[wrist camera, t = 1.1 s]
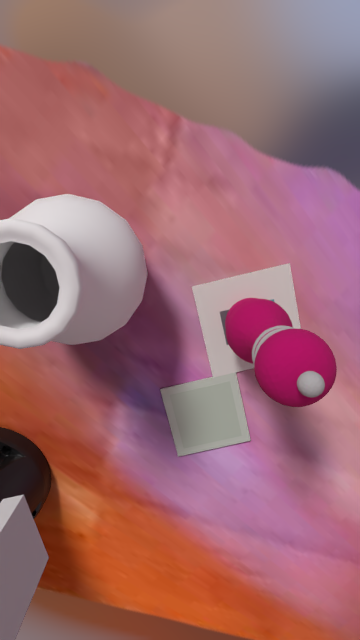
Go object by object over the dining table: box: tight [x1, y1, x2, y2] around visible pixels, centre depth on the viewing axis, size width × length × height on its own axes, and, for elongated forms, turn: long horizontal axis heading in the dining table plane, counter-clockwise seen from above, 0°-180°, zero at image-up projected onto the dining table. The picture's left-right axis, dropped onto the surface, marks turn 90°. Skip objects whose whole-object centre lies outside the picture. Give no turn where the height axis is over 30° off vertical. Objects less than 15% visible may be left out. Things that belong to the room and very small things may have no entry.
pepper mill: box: [225, 298, 336, 407], centre depth 32 cm, size 7×7×20 cm
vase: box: [0, 194, 148, 349], centre depth 30 cm, size 14×14×20 cm
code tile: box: [192, 263, 301, 377], centre depth 42 cm, size 12×12×1 cm
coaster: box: [160, 372, 251, 456], centre depth 44 cm, size 10×10×1 cm
